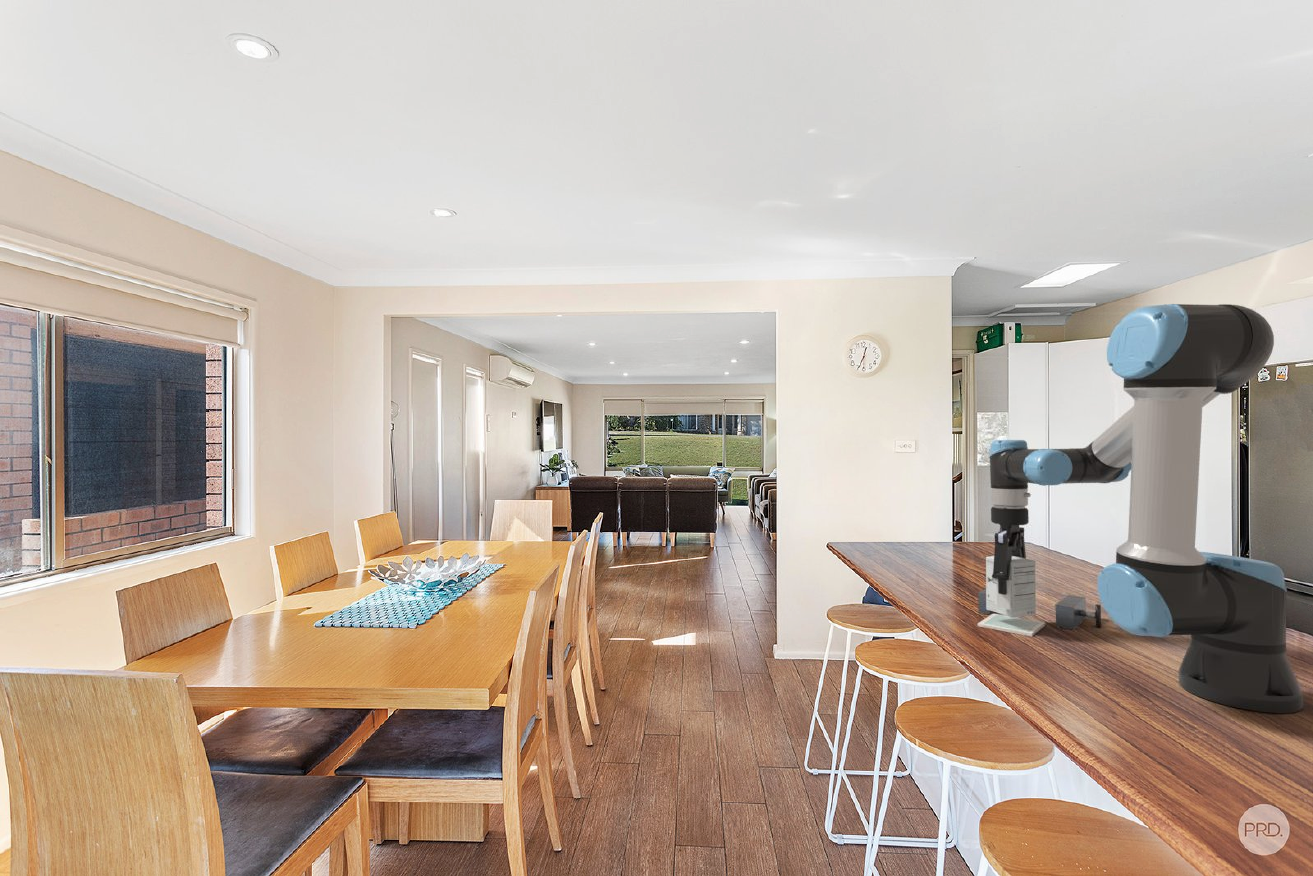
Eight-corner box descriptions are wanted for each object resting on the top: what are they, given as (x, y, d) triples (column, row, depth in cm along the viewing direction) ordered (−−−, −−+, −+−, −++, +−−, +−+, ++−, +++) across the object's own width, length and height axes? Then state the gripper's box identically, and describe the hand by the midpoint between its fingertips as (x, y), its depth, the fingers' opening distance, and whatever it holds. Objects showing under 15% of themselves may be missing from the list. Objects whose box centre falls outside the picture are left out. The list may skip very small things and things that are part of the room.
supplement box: (985, 610, 144) (984, 556, 144) (1009, 607, 146) (1008, 554, 146) (1012, 618, 137) (1011, 562, 137) (1037, 615, 139) (1036, 559, 139)
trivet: (1031, 636, 134) (1031, 633, 134) (977, 626, 142) (977, 623, 142) (1045, 625, 141) (1045, 622, 141) (993, 616, 149) (993, 613, 149)
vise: (1095, 633, 135) (1095, 610, 135) (978, 612, 152) (978, 592, 152) (1106, 621, 143) (1105, 600, 143) (994, 603, 161) (993, 584, 161)
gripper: (1012, 512, 131) (1014, 617, 131) (1041, 503, 147) (1042, 597, 147) (975, 509, 137) (976, 610, 137) (1006, 501, 152) (1007, 591, 152)
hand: (1010, 603), depth 142 cm, fingers closed on supplement box, 9 cm apart
